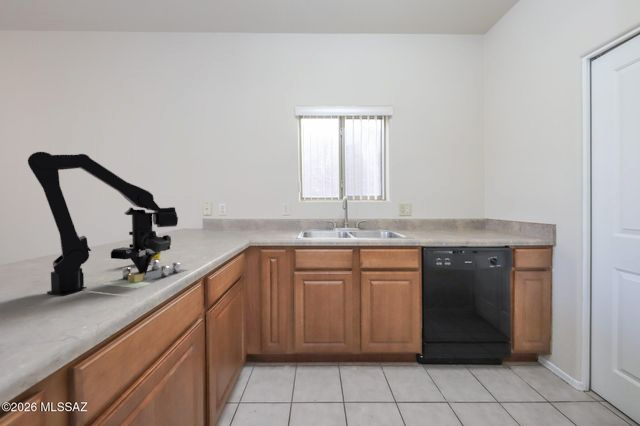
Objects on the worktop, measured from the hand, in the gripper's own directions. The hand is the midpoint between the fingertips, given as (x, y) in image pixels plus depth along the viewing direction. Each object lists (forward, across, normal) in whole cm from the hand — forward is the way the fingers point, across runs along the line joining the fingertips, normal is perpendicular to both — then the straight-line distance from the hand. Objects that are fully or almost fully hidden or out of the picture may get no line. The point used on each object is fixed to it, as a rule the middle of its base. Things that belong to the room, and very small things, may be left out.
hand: (143, 275), depth 98 cm
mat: (+2, +2, 0) cm, 3 cm away
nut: (+1, -3, 0) cm, 3 cm away
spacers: (+1, +4, 0) cm, 5 cm away
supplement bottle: (+2, +20, +15) cm, 25 cm away
